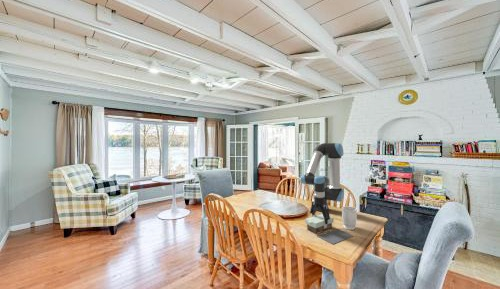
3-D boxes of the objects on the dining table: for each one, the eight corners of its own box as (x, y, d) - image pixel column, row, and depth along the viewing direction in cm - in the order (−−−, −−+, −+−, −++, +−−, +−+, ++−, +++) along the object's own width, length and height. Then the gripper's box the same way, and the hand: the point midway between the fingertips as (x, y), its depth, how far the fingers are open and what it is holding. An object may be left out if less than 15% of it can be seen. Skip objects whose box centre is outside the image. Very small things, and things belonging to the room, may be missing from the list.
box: (323, 224, 165) (323, 215, 165) (331, 228, 158) (331, 219, 158) (307, 229, 156) (307, 220, 156) (315, 233, 149) (315, 224, 149)
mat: (337, 229, 156) (337, 228, 156) (353, 236, 145) (353, 235, 145) (317, 236, 145) (317, 235, 145) (332, 244, 134) (332, 244, 134)
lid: (323, 218, 166) (323, 213, 166) (333, 222, 157) (333, 217, 157) (303, 224, 155) (303, 219, 155) (313, 228, 147) (313, 224, 147)
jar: (344, 223, 166) (344, 205, 165) (358, 227, 159) (358, 207, 159) (340, 228, 157) (340, 209, 157) (354, 232, 151) (355, 211, 150)
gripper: (305, 193, 164) (305, 221, 165) (328, 201, 144) (328, 232, 145) (311, 192, 168) (311, 219, 168) (335, 199, 148) (335, 229, 149)
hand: (319, 225), depth 157 cm, fingers closed on lid, 10 cm apart
